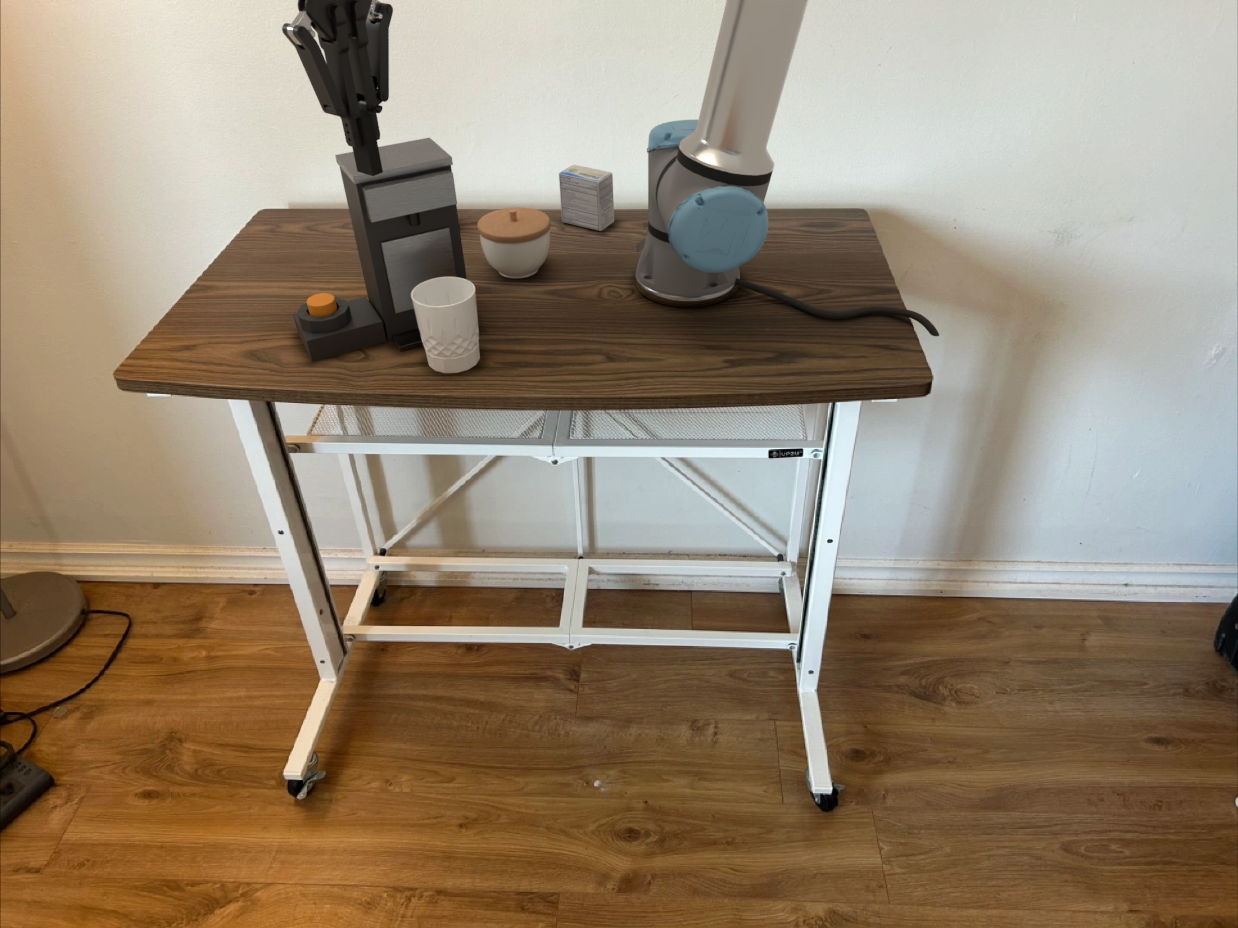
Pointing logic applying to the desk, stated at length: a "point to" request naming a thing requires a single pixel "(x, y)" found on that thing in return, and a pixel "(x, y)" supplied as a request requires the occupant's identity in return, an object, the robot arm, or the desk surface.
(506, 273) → the trinket box
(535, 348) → the desk surface
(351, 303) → the button base
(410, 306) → the coffee machine
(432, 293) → the white cup
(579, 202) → the medicine box
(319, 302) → the button
